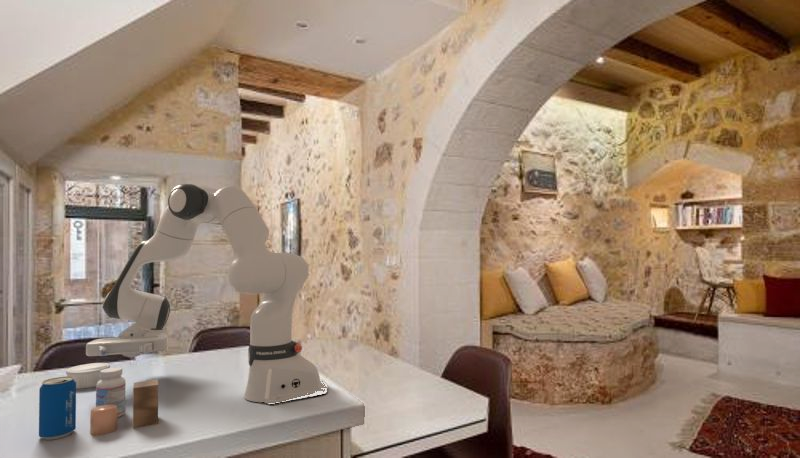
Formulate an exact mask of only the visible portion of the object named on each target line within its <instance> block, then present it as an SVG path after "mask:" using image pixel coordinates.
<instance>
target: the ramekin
mask: <svg viewBox="0 0 800 458" xmlns="http://www.w3.org/2000/svg"><path fill="white" fill-rule="evenodd" d="M107 368H111V364H110V363H108V362H93V363H92V362H91V363H85V364H80V365H75V366H72V367H70V368H67V369H66V370H65V375H66V376H71V377H74V381H75V382H76V390H77V389H78V390H81V389H88V388H89V389H90V388H96V385H97V382H98V381H99V380H101V378H100V371H101V370H103V369H107Z"/></svg>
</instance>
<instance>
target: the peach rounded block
mask: <svg viewBox="0 0 800 458" xmlns="http://www.w3.org/2000/svg"><path fill="white" fill-rule="evenodd" d="M89 412H90V414H89V415H90V417H89V418H90V419H89V421H90V423H89V425H90V426H89V428H90V429H89V435H91V436H103V435H109V434H110V433H113V432H115V431H116V430H118V429H117V428H118V425H117V423H118V417H117V405H102V406H98V407H96V406H95V407H93V408H90V411H89Z"/></svg>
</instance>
